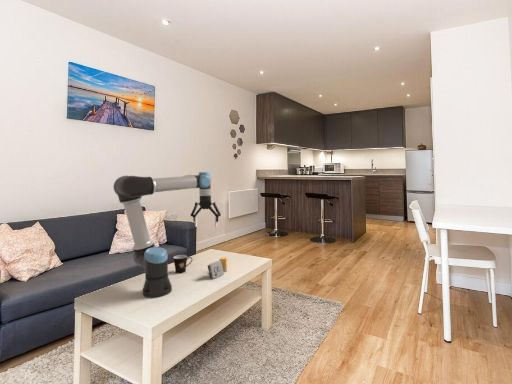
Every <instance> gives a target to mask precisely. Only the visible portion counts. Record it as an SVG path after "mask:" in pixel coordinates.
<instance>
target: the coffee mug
mask: <svg viewBox="0 0 512 384" xmlns="http://www.w3.org/2000/svg"><path fill="white" fill-rule="evenodd" d="M188 259H191V260H190V262H189V263H188V264H187V261H188ZM192 262H193V257H191V256H190V257H188V256H187V255H185V254H180V255H179V254H178V255H174V256H173V264H174V269H175V273H176V274H184V273H186V271H187V267H188V266H189V265H191V264H192Z"/></svg>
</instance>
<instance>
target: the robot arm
mask: <svg viewBox="0 0 512 384" xmlns="http://www.w3.org/2000/svg"><path fill="white" fill-rule="evenodd" d="M211 179H212V178H211V173H210V172H208V171H200V172H198V174H196V175H193V174H191V175H190V174H189V175H188V174H186V175H182V176H173V177H172V176H171V177H168V176H167V177H155V178H154V177H152V176H137V175H122V176H120V177H118V178H117V179H116V180H115V181H114V183H113V185H112V186H113V191H114V193H115V194H116V195H117V198H118V201H119V203H120V204H122V205H123V207H124V210H125V214H126V217H127V218H126V219H127V221H128V225H129V228H130V233H131V236H132V240H133V243H134V245H133V246H132V250H133V252H132V253H133V254H132V258H133V261H134V262H135V264H136V265H138V266H140V267H141V268H142V269H144V273H145V274H144V276H145V277H144V278H145V280H144V284H143V286H142V296H144V297H145V298H146V297H147V298H158V297H163V296H166V295H168V294H170V293H171V292H172V291H173V289H172V288H173V286H172V283H171V281H170V278H169V272H168V271H169V270H168V268H169V266H168V265H169V263H168V257H169V256H168V251H167V249H165V248H163V247H159V246H155V242H154V241H153V240H151V238H150V233H149V230H148V226H147V223H146V219H145V215H144V211H143V208H142V205H141V200H142V197H144V196H149V195H151V196H152V195H154V193H162V192H170V191H171V192H172V191H181V190H182V191H183V190H191V189H199V191H198V193H199V202H197V201H196V202H194V206H193V208H192V211H191V213H190V217H192V219H193V223H194V227H195V228H196V227H198V214H199V213H200V212H201V211H202V210H209V211H210V213H212V214H213V215H214V228H217V227H218V223H219V217H221V216H222V214H221V212H220V210H219V208H218V207H217V202H216V201H215V202H212V192H211V191H212V189H211V186H212V185H211V184H212V183H211V181H212V180H211ZM198 206H199V208H198ZM197 208H198V210H197ZM213 208H214V209H213Z"/></svg>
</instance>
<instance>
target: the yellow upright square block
mask: <svg viewBox="0 0 512 384" xmlns="http://www.w3.org/2000/svg"><path fill="white" fill-rule="evenodd" d="M218 261H221V264H222V268H223V270H227V271H228V268H229V267H228V264H229V263H228V256H227V257H225V256H221V257H220V258H219V260H218Z"/></svg>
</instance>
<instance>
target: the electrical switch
mask: <svg viewBox="0 0 512 384" xmlns="http://www.w3.org/2000/svg"><path fill="white" fill-rule="evenodd" d="M207 269H208V275H209V278H210V279H212V280H215V279H217V278H219V277H222V276H224V275H225V272H223V268H222V264H221V261H219V260H217V261H214V262H211V263H209V264H208V265H207Z"/></svg>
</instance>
